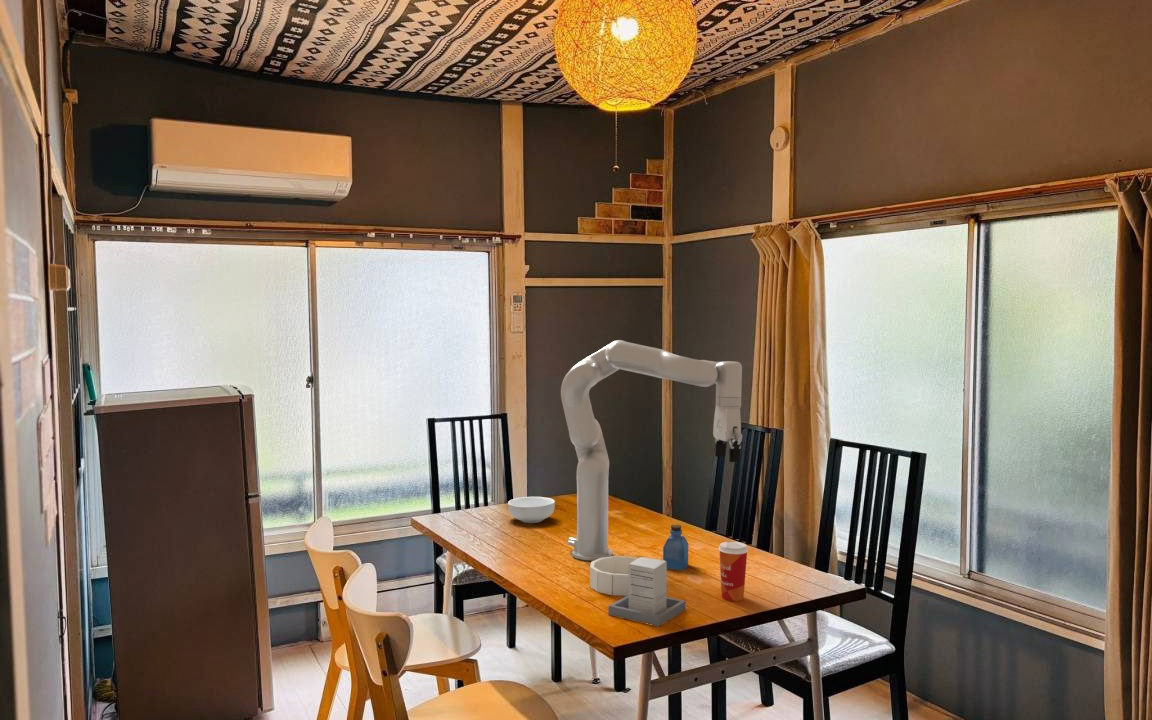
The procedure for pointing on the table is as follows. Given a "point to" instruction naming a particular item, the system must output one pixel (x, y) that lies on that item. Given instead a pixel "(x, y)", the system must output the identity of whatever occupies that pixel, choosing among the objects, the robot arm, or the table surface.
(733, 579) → the paper cup
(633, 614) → the gray square frame
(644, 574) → the supplement box
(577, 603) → the table surface
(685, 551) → the perfume bottle
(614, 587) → the bowl
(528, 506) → the cereal bowl
